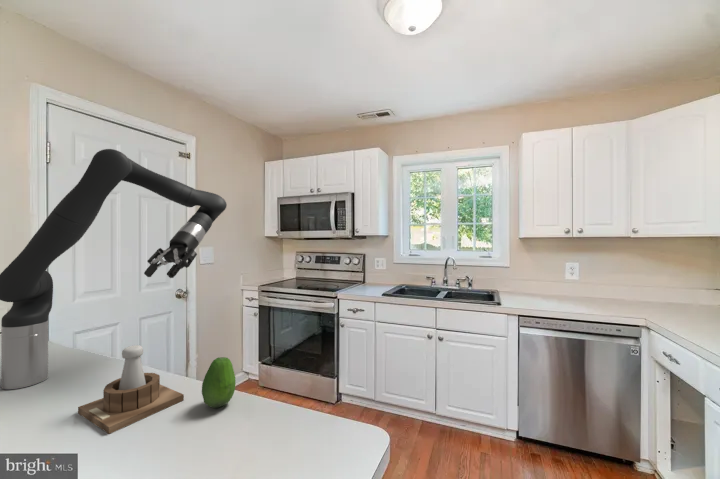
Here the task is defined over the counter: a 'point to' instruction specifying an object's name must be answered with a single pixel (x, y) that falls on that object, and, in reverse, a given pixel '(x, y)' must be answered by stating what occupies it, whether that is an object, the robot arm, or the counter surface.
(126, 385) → the salt shaker
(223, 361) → the avocado
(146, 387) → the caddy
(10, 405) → the counter surface
